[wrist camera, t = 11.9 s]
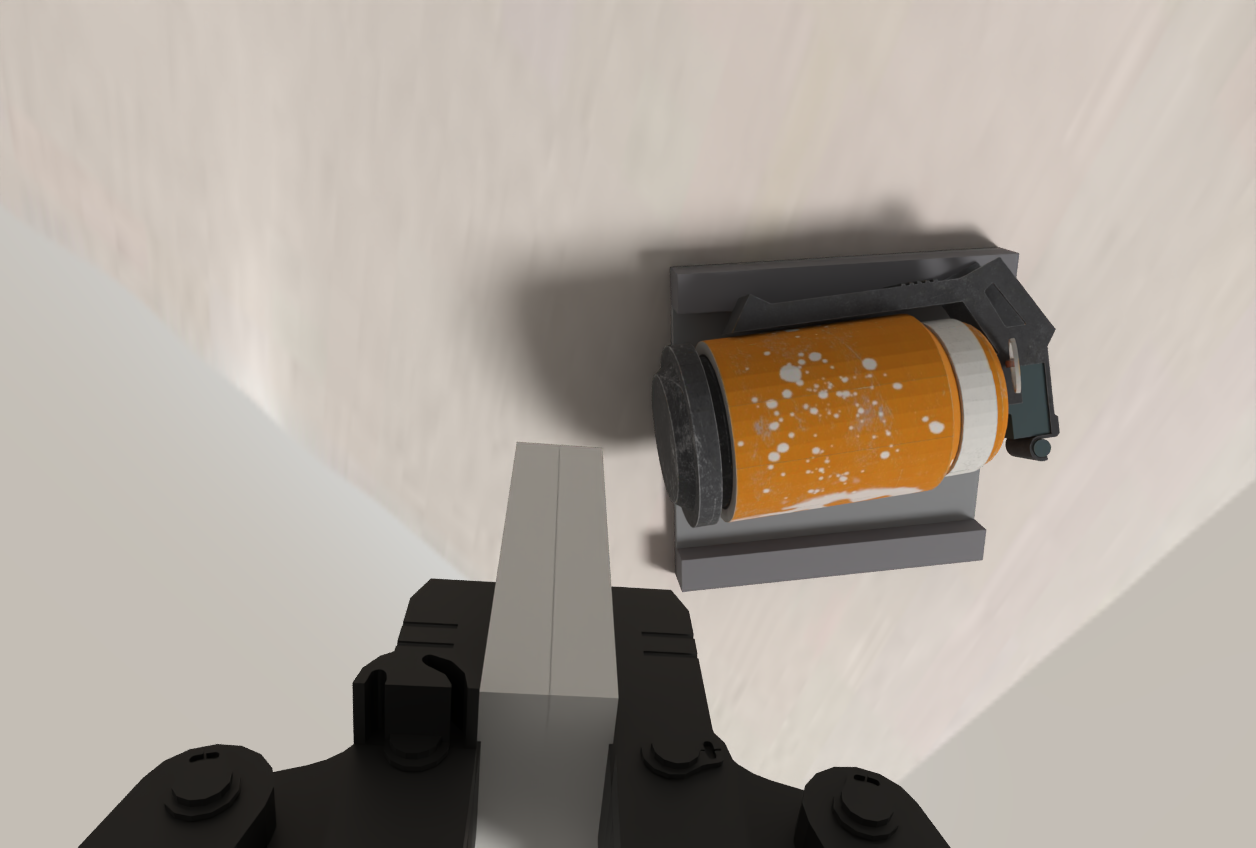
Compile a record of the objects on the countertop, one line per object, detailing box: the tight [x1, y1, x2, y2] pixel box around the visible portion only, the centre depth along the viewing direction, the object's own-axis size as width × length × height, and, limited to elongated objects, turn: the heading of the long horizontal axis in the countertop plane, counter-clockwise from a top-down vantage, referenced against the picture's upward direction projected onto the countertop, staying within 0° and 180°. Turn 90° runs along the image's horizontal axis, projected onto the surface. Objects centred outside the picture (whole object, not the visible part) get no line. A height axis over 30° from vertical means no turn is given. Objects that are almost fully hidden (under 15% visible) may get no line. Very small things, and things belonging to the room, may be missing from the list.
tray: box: [670, 247, 1019, 592], centre depth 49 cm, size 18×18×2 cm
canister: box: [652, 257, 1060, 528], centre depth 45 cm, size 9×11×20 cm
